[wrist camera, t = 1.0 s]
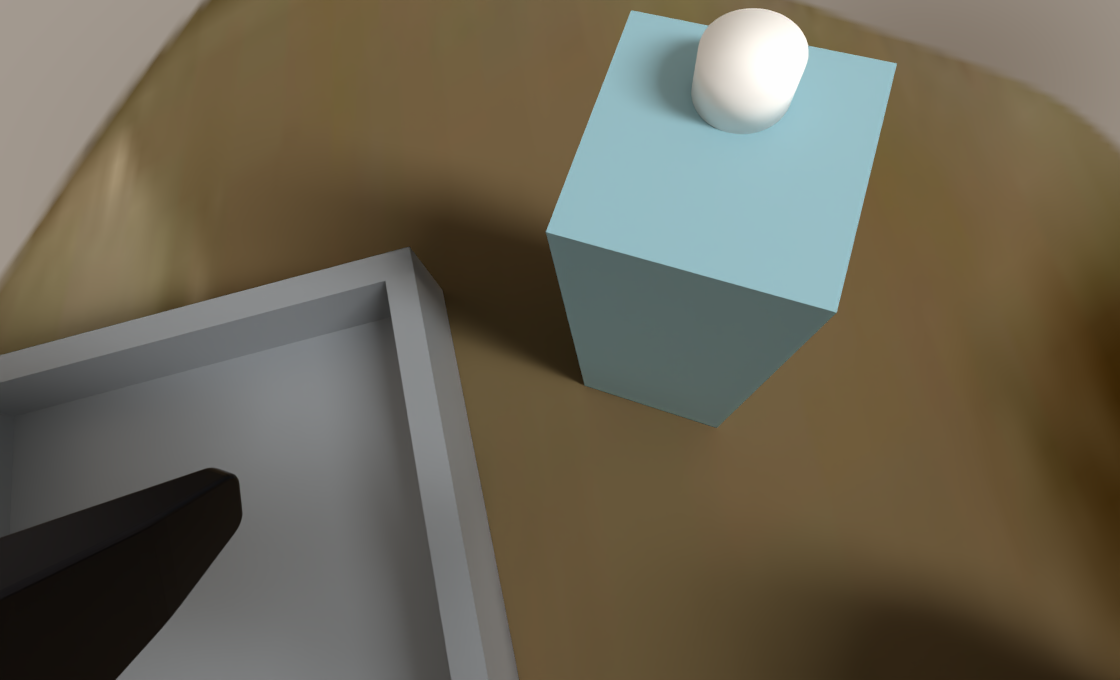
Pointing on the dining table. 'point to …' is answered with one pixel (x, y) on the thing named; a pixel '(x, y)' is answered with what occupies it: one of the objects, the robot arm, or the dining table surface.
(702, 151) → the carton
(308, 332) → the gray square tray
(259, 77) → the dining table surface
